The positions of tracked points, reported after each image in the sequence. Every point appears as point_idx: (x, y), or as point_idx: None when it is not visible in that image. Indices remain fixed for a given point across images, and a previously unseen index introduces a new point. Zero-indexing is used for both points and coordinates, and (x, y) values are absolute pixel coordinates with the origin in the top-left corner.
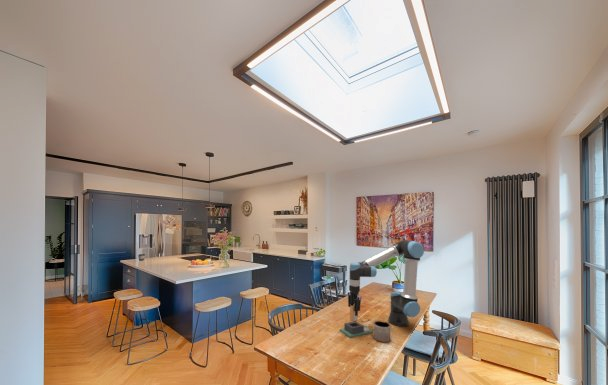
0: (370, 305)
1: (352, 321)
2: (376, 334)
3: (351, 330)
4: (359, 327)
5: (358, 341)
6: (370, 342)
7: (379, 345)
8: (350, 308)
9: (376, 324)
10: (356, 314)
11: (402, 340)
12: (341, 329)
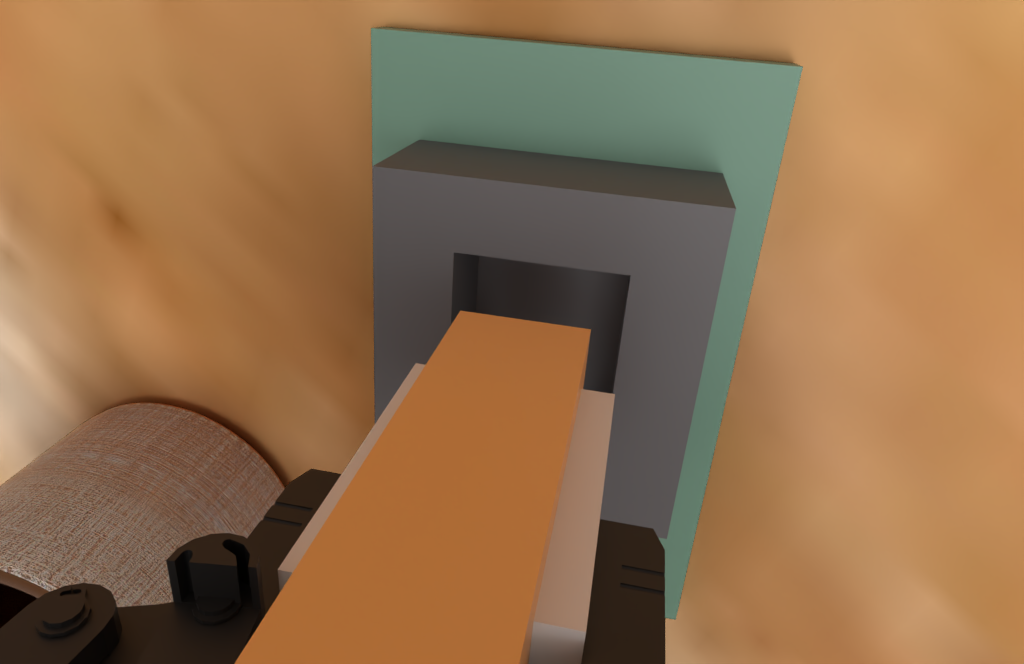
0: None
1: (455, 320)
2: (94, 446)
3: (420, 157)
4: (379, 376)
5: (210, 94)
6: (128, 265)
7: (18, 312)
8: (495, 608)
9: None
10: (276, 519)
11: None
12: (747, 87)
